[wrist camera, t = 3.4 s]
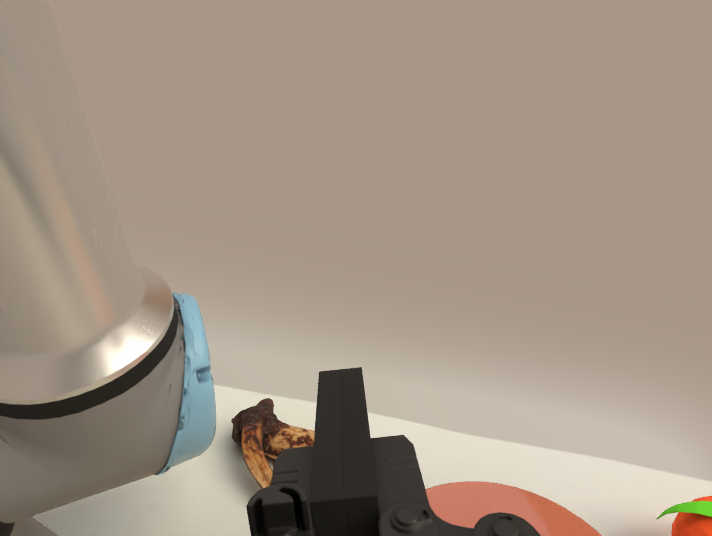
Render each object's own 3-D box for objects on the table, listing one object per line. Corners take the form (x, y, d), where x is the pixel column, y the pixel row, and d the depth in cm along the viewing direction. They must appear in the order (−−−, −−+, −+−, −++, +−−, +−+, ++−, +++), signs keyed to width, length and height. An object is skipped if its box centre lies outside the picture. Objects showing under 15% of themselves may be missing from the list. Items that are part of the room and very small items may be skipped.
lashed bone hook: (197, 483, 47) (360, 545, 39) (184, 447, 45) (353, 504, 37) (254, 420, 55) (402, 461, 47) (245, 387, 53) (397, 423, 45)
